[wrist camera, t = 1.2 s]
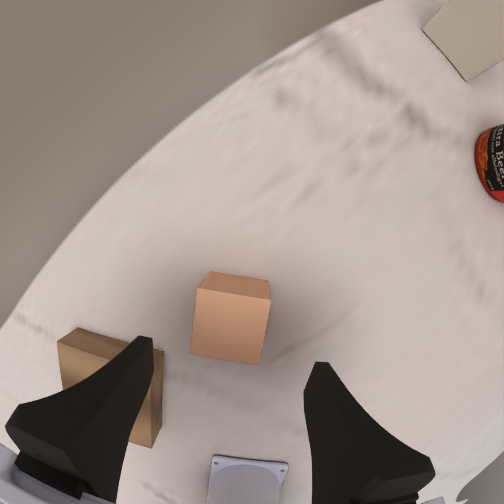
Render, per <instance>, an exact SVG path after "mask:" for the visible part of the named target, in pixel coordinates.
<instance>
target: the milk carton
mask: <svg viewBox="0 0 504 504" xmlns="http://www.w3.org/2000/svg"><path fill="white" fill-rule="evenodd" d="M422 30H423V31H424V32H425V33H426V34H427V35H428V37H429V38H430V39H431V40H432V41H433V42H434V43H435V44H436V45H437V46H438V48H439V49H440V50H441V51H442V52H443V53H444V54H445V56H446V57H447V58H448V59H449V60H450V62H451V63H452V64H453V65H454V67H455V68H456V69H457V70H458V72H459V73H460V74H461V75H462V77H463V78H464V79H465V80H466V81H469V80H470V79H472V78H474V77H475V76H477V75H479V74H480V73H482V72H484V71H485V70H487V69H489V68H491V67H492V66H494V65H496V64H497V63H499V62H501V61H503V60H504V0H448V1H447V2H446V3H445V4H444V5H443V6H442V7H441V8H440V9H439V11H438V12H437V13H436V14H435V15H434V16H433V17H432V18H431V19H430V20H429V21H428V22H427V24H426V25H425V26H424V27H423V28H422Z"/></svg>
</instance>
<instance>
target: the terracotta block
mask: <svg viewBox="0 0 504 504" xmlns="http://www.w3.org/2000/svg"><path fill="white" fill-rule="evenodd" d="M270 305H271V295H270V288H269V282H268V281H266V280H259V279H253V278H247V277H241V276H235V275H229V274H223V273H217V272H210V273H209V275H208V276H207V277H206V278H205V279H204V280H203V282H202V283H201V284H200V285H199V286H198V288H197V294H196V303H195V311H194V320H193V329H192V339H191V349H190V354H195V355H200V356H205V357H210V358H216V359H222V360H227V361H233V362H240V363H246V364H253V365H259V362H260V357H261V352H262V347H263V342H264V336H265V331H266V326H267V321H268V315H269V310H270Z"/></svg>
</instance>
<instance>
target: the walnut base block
mask: <svg viewBox="0 0 504 504" xmlns="http://www.w3.org/2000/svg"><path fill="white" fill-rule="evenodd" d="M129 344H130V343H128V342H125V341H121V340H117V339H114V338H110V337H107V336H104V335H100V334H97V333H94V332H90V331H87V330H84V329H81V328H76V329H75V330H73V331H72V332H70V333H69V334H67V335H66V336H64V337H63V338H61V339H60V340H58V341H57V348H58V357H59V365H60V373H61V379H62V386H63V390H65V389H67V388H69V387H71V386H73V385H75V384H77V383H79V382H80V381H82V380H84V379H85V378H87V377H88V376H90V375H91V374H93V373H94V372H96V371H97V370H99V369H100V368H101V367H103V366H104V365H105V364H107V363H108V362H109V361H110V360H112V359H113V358H114V357H115V356H116V355H118V354H119V353H120V352H121V351H122V350H123V349H124V348H126V347H127V346H128V345H129ZM153 360H154V373H153V377H152V380H151V384H150V387H149V390H148V393H147V395H146V397H145V400H144V402H143V404H142V407H141V409H140V411H139V414H138V416H137V418H136V421H135V423H134V426H133V428H132V431H131V434H130V437H129V441H128V442H131V443H134V444H138V445H141V446H144V447H148V448H151V449H152V447H153V444H154V442H155V440H156V438H157V435H158V433H159V431H160V429H161V426H162V383H163V360H164V351H160V350H156V349H153Z"/></svg>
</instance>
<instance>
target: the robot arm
mask: <svg viewBox="0 0 504 504" xmlns="http://www.w3.org/2000/svg"><path fill="white" fill-rule="evenodd" d="M153 373H154V360H153V341H152V338H149V337H145V336H140V335H139V336H138V337H137V338H135V339H134V340H133V341H132V342H131V343H130V344H129V345H128V346H127V347H126V348H124V349H123V350H122V351H121V352H120V353H119V354H118V355H116V356H115V357H114V358H113V359H112V360H110V361H109V362H108V363H107V364H105V365H104V366H103V367H101V368H100V369H99V370H97V371H96V372H94V373H93V374H91V375H90V376H88V377H87V378H85V379H84V380H82V381H80V382H79V383H77V384H75V385H73V386H71V387H69V388H67V389H65V390H63V391H61V392H58V393H56V394H53V395H51V396H48V397H45V398H42V399H39V400H35V401H32V402H28V403H23V404H19V405H18V407H17V408H16V409H15V411H14V412H13V414H12V415H11V417H10V419H9V420H8V422H7V423H6V425H5V428H6V431H7V433H8V435H9V436H10V438H11V439H12V440H13V442H14V443H15V444H16V446H17V447H18V448H19V449H20V453H19V454H18V455H17V454H16V453H14V452H13V451H12V450H10V449H9V448H7V447H6V446H4V445H2V444H1V443H0V502H2V503H3V504H116V498H117V492H118V485H119V480H120V475H121V470H122V465H123V461H124V457H125V452H126V448H127V445H128V441H129V437H130V434H131V431H132V428H133V426H134V423H135V421H136V418H137V416H138V414H139V411H140V409H141V407H142V404H143V402H144V400H145V397H146V395H147V393H148V390H149V387H150V384H151V380H152V377H153ZM304 413H305V419H306V425H307V431H308V437H309V442H310V448H311V456H312V504H416V500H418V499H419V496H418V491H419V490H421V489H422V488H423V487H425V486H426V485H427V484H428V483H429V482H430V481H432V480H433V478H434V476H435V470H434V467H433V465H432V462H431V460H430V458H429V457H428V456H426V455H424V454H422V453H420V452H418V451H416V450H414V449H412V448H410V447H409V446H407V445H406V444H404V443H403V442H401V441H400V440H398V439H397V438H395V437H394V436H393V435H391V434H390V433H389V432H388V431H386V430H385V429H384V428H383V427H381V426H380V425H379V424H378V423H377V422H376V421H375V420H374V419H373V418H372V417H371V416H370V415H369V414H368V413H367V412H366V411H365V410H364V409H363V408H362V406H361V405H360V404H359V403H358V402H357V401H356V399H355V398H354V397H353V396H352V394H351V393H350V392H349V391H348V389H347V388H346V387H345V385H344V384H343V382H342V381H341V380H340V378H339V377H338V375H337V374H336V372H335V371H334V370H333V368H332V367H331V365H330V364H329V363H328V362H315V364H314V367H313V369H312V372H311V374H310V377H309V379H308V382H307V384H306V387H305V389H304ZM217 462H218V463H217ZM282 469H283V470H282ZM287 470H288V464H286V463H276V462H264V461H254V460H245V459H237V458H230V457H223V456H213V457H212V463H211V471H210V478H209V485H208V492H207V501H209V504H280V500H279V490H280V487H281V485H282V482H283V480H284V478H285V475H286V473H287ZM421 504H445V501H444V498H443V497H439V498H436V499H433V500H430V501H426V502H424V503H421Z"/></svg>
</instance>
